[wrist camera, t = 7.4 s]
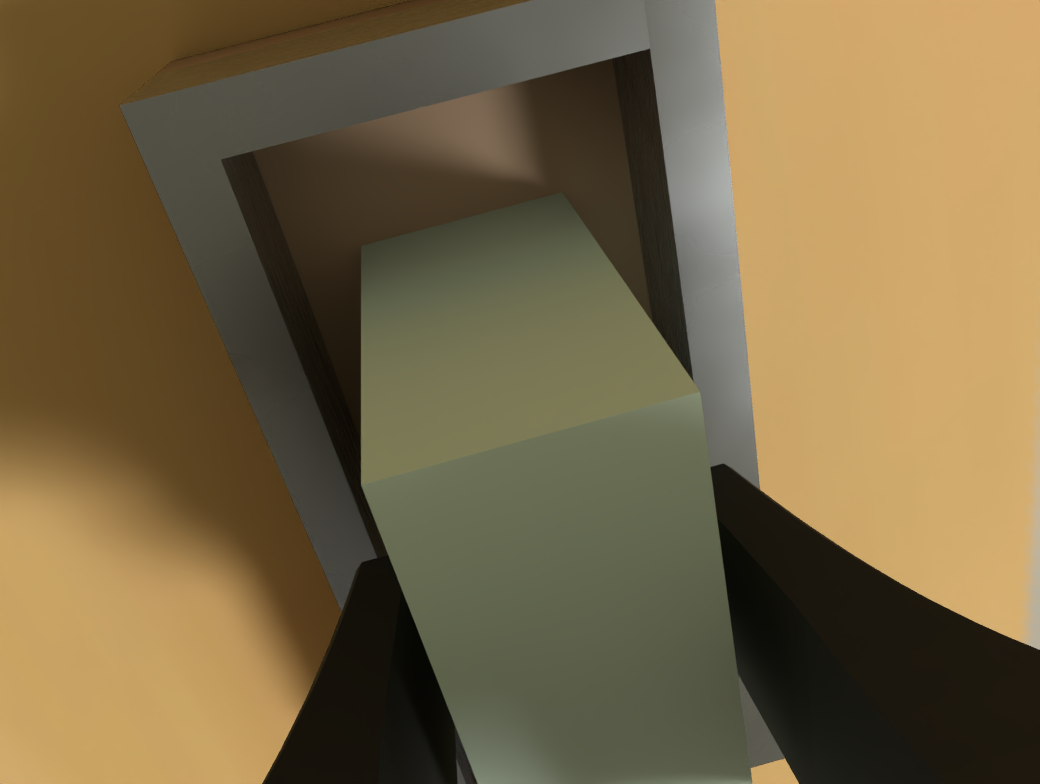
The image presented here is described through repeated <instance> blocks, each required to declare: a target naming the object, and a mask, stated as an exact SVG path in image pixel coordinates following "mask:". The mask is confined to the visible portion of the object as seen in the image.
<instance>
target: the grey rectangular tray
mask: <svg viewBox="0 0 1040 784" xmlns="http://www.w3.org/2000/svg"><path fill="white" fill-rule="evenodd" d="M119 106H120V108H121V111H122V113H123V115H124V118H125V120H126V122H127V124H128V127H129V129H130V131H131V134H132V136H133V138H134V140H135V143H136V145H137V147H138V149H139V152H140V154H141V156H142V159H143V161H144V163H145V165H146V168H147V170H148V172H149V175H150V177H151V179H152V181H153V184H154V186H155V188H156V190H157V193H158V195H159V197H160V200H161V202H162V204H163V206H164V209H165V211H166V213H167V216H168V218H169V220H170V222H171V225H172V227H173V229H174V231H175V234H176V236H177V238H178V241H179V243H180V245H181V247H182V250H183V252H184V254H185V257H186V259H187V261H188V263H189V266H190V268H191V270H192V272H193V275H194V277H195V279H196V282H197V284H198V286H199V288H200V291H201V293H202V295H203V298H204V300H205V302H206V304H207V307H208V309H209V311H210V313H211V316H212V318H213V320H214V323H215V325H216V327H217V329H218V332H219V334H220V336H221V339H222V341H223V343H224V345H225V348H226V350H227V352H228V354H229V357H230V359H231V361H232V364H233V366H234V368H235V370H236V373H237V375H238V377H239V380H240V382H241V384H242V386H243V389H244V391H245V393H246V395H247V398H248V400H249V402H250V405H251V407H252V409H253V411H254V414H255V416H256V418H257V421H258V423H259V425H260V427H261V430H262V432H263V434H264V436H265V439H266V441H267V443H268V446H269V448H270V450H271V452H272V455H273V457H274V459H275V462H276V464H277V466H278V468H279V471H280V473H281V475H282V477H283V480H284V482H285V484H286V487H287V489H288V491H289V493H290V496H291V498H292V500H293V503H294V505H295V507H296V509H297V512H298V514H299V516H300V518H301V521H302V523H303V525H304V528H305V530H306V532H307V534H308V537H309V539H310V541H311V544H312V546H313V548H314V550H315V553H316V555H317V557H318V559H319V562H320V564H321V566H322V569H323V571H324V573H325V575H326V578H327V580H328V582H329V585H330V587H331V589H332V591H333V594H334V596H335V598H336V600H337V603H338V605H339V607H340V610H341V612H342V610H343V608H344V605H345V602H346V599H347V596H348V593H349V591H350V588H351V585H352V582H353V579H354V576H355V573H356V570H357V569H358V567H359V566H360V564H361V562H364V561H368V560H371V559H375V558H379V557H382V556H386V555H388V553H387V550H386V548H385V545H384V543H383V540H382V537H381V535H380V532H379V530H378V527H377V525H376V522H375V519H374V517H373V514H372V512H371V509H370V507H369V504H368V502H367V499H366V496H365V494H364V491H363V489H362V486H361V246H362V245H366V244H370V243H374V242H377V241H381V240H385V239H388V238H392V237H396V236H400V235H403V234H407V233H411V232H415V231H418V230H422V229H426V228H430V227H433V226H437V225H441V224H445V223H448V222H452V221H456V220H459V219H463V218H467V217H471V216H474V215H478V214H482V213H486V212H489V211H493V210H497V209H501V208H504V207H508V206H512V205H516V204H519V203H523V202H527V201H530V200H534V199H538V198H542V197H545V196H549V195H553V194H557V193H560V192H563V194H564V195H565V197H566V198H567V199H568V201H569V202H570V204H571V205H572V207H573V208H574V210H575V211H576V213H577V214H578V215H579V217H580V218H581V220H582V221H583V223H584V224H585V226H586V227H587V228H588V230H589V231H590V233H591V234H592V236H593V237H594V239H595V240H596V241H597V243H598V244H599V246H600V247H601V249H602V250H603V252H604V253H605V254H606V256H607V257H608V259H609V260H610V262H611V263H612V265H613V266H614V268H615V269H616V270H617V272H618V273H619V275H620V276H621V278H622V279H623V281H624V282H625V283H626V285H627V286H628V288H629V289H630V291H631V292H632V294H633V295H634V296H635V298H636V299H637V301H638V302H639V304H640V305H641V307H642V308H643V310H644V311H645V312H646V314H647V315H648V317H649V318H650V320H651V321H652V323H653V324H654V325H655V327H656V328H657V330H658V331H659V333H660V334H661V336H662V337H663V338H664V340H665V341H666V343H667V344H668V346H669V347H670V349H671V350H672V352H673V353H674V354H675V356H676V357H677V359H678V360H679V362H680V363H681V365H682V366H683V367H684V369H685V370H686V372H687V373H688V375H689V376H690V378H691V379H692V380H693V382H694V383H695V385H696V386H697V388H698V389H699V391H700V394H701V401H702V409H703V416H704V424H705V431H706V439H707V446H708V454H709V461H710V467H712V466H716V465H719V464H723V463H724V464H726V465H727V466H729V467H731V468H732V469H734V470H735V471H736V472H738V473H739V474H740V475H741V476H743V477H744V478H745V479H747V480H748V481H749V482H750V483H752V484H753V485H754V486H756V487H757V488H758V489H760V485H759V474H758V463H757V453H756V442H755V431H754V420H753V409H752V398H751V387H750V377H749V366H748V355H747V344H746V333H745V322H744V311H743V301H742V290H741V279H740V268H739V257H738V246H737V235H736V225H735V214H734V203H733V192H732V181H731V170H730V159H729V149H728V138H727V127H726V116H725V105H724V94H723V83H722V73H721V62H720V51H719V40H718V29H717V18H716V7H715V0H411V1H407V2H404V3H400V4H396V5H392V6H388V7H384V8H380V9H376V10H372V11H368V12H364V13H360V14H356V15H352V16H349V17H345V18H341V19H337V20H333V21H329V22H325V23H321V24H317V25H313V26H309V27H305V28H301V29H297V30H293V31H290V32H286V33H282V34H278V35H274V36H270V37H266V38H262V39H258V40H254V41H250V42H246V43H242V44H238V45H234V46H231V47H227V48H223V49H219V50H215V51H211V52H207V53H203V54H199V55H195V56H191V57H187V58H183V59H179V60H175V61H172V62H170V63H169V64H168V65H167V66H166V67H164V68H163V69H162V70H161V71H160V72H158V73H157V74H156V75H155V76H154V77H153V78H151V79H150V80H149V81H148V82H147V83H145V84H144V85H143V86H142V87H141V88H140V89H138V90H137V91H136V92H135V93H134V94H132V95H131V96H130V97H129V98H128V99H127V100H125V101H124V102H123V103H122V104H121V105H119ZM738 679H739V687H740V695H741V702H742V710H743V717H744V725H745V732H746V740H747V747H748V755H749V762H750V768H752V767H756V766H759V765H763V764H766V763H770V762H773V761H777V760H780V759H784V758H785V757H784V755H783V754H782V752H781V750H780V748H779V747H778V745H777V743H776V741H775V739H774V738H773V736H772V734H771V732H770V731H769V729H768V727H767V725H766V723H765V722H764V720H763V718H762V716H761V715H760V713H759V711H758V709H757V707H756V706H755V704H754V702H753V700H752V699H751V697H750V695H749V693H748V691H747V690H746V688H745V686H744V684H743V682H742V681H741V679H740V677H739V675H738ZM455 740H456V761H457V781H458V784H478V783H477V780H476V778H475V775H474V773H473V770H472V768H471V765H470V762H469V760H468V757H467V755H466V752H465V750H464V747H463V745H462V742H461V739H460V737H459V734H458V732H457V729H456V727H455Z"/></svg>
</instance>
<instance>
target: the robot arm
mask: <svg viewBox="0 0 1040 784" xmlns="http://www.w3.org/2000/svg"><path fill="white" fill-rule="evenodd" d="M710 469H711V476H712V484H713V491H714V499H715V506H716V514H717V522H718V529H719V537H720V544H721V552H722V559H723V567H724V574H725V582H726V589H727V597H728V604H729V612H730V619H731V627H732V634H733V642H734V649H735V657H736V664H737V672H738V675H739V677H740V679H741V681H742V682H743V684H744V686H745V688H746V690H747V691H748V693H749V695H750V697H751V699H752V700H753V702H754V704H755V706H756V707H757V709H758V711H759V713H760V715H761V716H762V718H763V720H764V722H765V723H766V725H767V727H768V729H769V731H770V732H771V734H772V736H773V738H774V739H775V741H776V743H777V745H778V747H779V748H780V750H781V752H782V754H783V755H784V757H785V759H786V761H787V763H788V764H789V766H790V768H791V770H792V772H793V773H794V775H795V777H796V779H797V780H798V782H799V784H1040V650H1038V649H1036V648H1034V647H1031V646H1029V645H1026V644H1024V643H1021V642H1019V641H1017V640H1014V639H1012V638H1009V637H1007V636H1005V635H1002V634H1000V633H998V632H996V631H993V630H991V629H989V628H987V627H985V626H982V625H980V624H978V623H976V622H974V621H972V620H970V619H968V618H966V617H964V616H962V615H960V614H958V613H956V612H953V611H951V610H949V609H947V608H945V607H943V606H941V605H939V604H937V603H935V602H933V601H931V600H930V599H928V598H926V597H924V596H922V595H920V594H918V593H917V592H915V591H913V590H911V589H909V588H908V587H906V586H904V585H902V584H901V583H899V582H897V581H895V580H894V579H892V578H890V577H889V576H887V575H885V574H884V573H882V572H880V571H879V570H877V569H875V568H874V567H872V566H870V565H868V564H867V563H865V562H864V561H862V560H861V559H859V558H857V557H856V556H854V555H853V554H851V553H849V552H848V551H846V550H845V549H843V548H842V547H840V546H839V545H837V544H836V543H834V542H833V541H831V540H830V539H828V538H827V537H825V536H824V535H822V534H821V533H819V532H818V531H816V530H815V529H813V528H812V527H810V526H809V525H808V524H806V523H805V522H803V521H802V520H800V519H799V518H798V517H796V516H795V515H793V514H792V513H791V512H789V511H788V510H786V509H785V508H784V507H782V506H781V505H780V504H778V503H777V502H776V501H774V500H773V499H772V498H770V497H769V496H768V495H766V494H765V493H764V492H762V491H761V490H760V489H758V488H757V487H756V486H754V485H753V484H752V483H750V482H749V481H748V480H747V479H745V478H744V477H743V476H741V475H740V474H739V473H738V472H736V471H735V470H734V469H732V468H731V467H729V466H727V465H726V464H724V463H723V464H719V465H716V466H712V467H710ZM262 784H458V781H457V761H456V740H455V724H454V722H453V719H452V716H451V714H450V711H449V709H448V706H447V704H446V701H445V699H444V696H443V693H442V691H441V688H440V686H439V683H438V681H437V678H436V676H435V673H434V670H433V668H432V665H431V663H430V660H429V658H428V655H427V652H426V650H425V647H424V645H423V642H422V640H421V637H420V635H419V632H418V629H417V627H416V624H415V622H414V619H413V617H412V614H411V612H410V609H409V606H408V604H407V601H406V599H405V596H404V594H403V591H402V589H401V586H400V583H399V581H398V578H397V576H396V573H395V571H394V568H393V566H392V563H391V560H390V558H389V555H386V556H382V557H379V558H375V559H371V560H368V561H364V562H361V564H360V566H359V567H358V569H357V570H356V573H355V576H354V579H353V582H352V585H351V588H350V591H349V593H348V596H347V599H346V602H345V605H344V608H343V610H342V613H341V616H340V618H339V621H338V624H337V626H336V629H335V631H334V634H333V637H332V639H331V642H330V644H329V647H328V649H327V651H326V654H325V656H324V658H323V661H322V663H321V665H320V668H319V670H318V672H317V675H316V677H315V679H314V682H313V684H312V686H311V689H310V691H309V693H308V695H307V697H306V700H305V702H304V704H303V706H302V708H301V710H300V712H299V714H298V716H297V718H296V720H295V722H294V724H293V726H292V728H291V730H290V732H289V734H288V736H287V738H286V740H285V742H284V744H283V746H282V748H281V750H280V752H279V754H278V756H277V758H276V760H275V761H274V763H273V765H272V767H271V769H270V771H269V772H268V774H267V776H266V778H265V780H264V781H263V783H262Z"/></svg>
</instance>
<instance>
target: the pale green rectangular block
mask: <svg viewBox="0 0 1040 784" xmlns="http://www.w3.org/2000/svg"><path fill="white" fill-rule="evenodd" d="M361 486H362V489H363V491H364V494H365V496H366V499H367V502H368V504H369V507H370V509H371V512H372V514H373V517H374V519H375V522H376V525H377V527H378V530H379V532H380V535H381V537H382V540H383V543H384V545H385V548H386V550H387V553H388V555H389V558H390V560H391V563H392V566H393V568H394V571H395V573H396V576H397V578H398V581H399V583H400V586H401V589H402V591H403V594H404V596H405V599H406V601H407V604H408V606H409V609H410V612H411V614H412V617H413V619H414V622H415V624H416V627H417V629H418V632H419V635H420V637H421V640H422V642H423V645H424V647H425V650H426V652H427V655H428V658H429V660H430V663H431V665H432V668H433V670H434V673H435V676H436V678H437V681H438V683H439V686H440V688H441V691H442V693H443V696H444V699H445V701H446V704H447V706H448V709H449V711H450V714H451V716H452V719H453V722H454V724H455V727H456V729H457V732H458V734H459V737H460V739H461V742H462V745H463V747H464V750H465V752H466V755H467V757H468V760H469V762H470V765H471V768H472V770H473V773H474V775H475V778H476V780H477V783H478V784H752V777H751V770H750V762H749V755H748V747H747V740H746V732H745V725H744V717H743V710H742V702H741V695H740V687H739V679H738V672H737V664H736V657H735V649H734V642H733V634H732V627H731V619H730V612H729V604H728V597H727V589H726V582H725V574H724V567H723V559H722V552H721V544H720V537H719V529H718V522H717V514H716V506H715V499H714V491H713V484H712V476H711V469H710V461H709V454H708V446H707V439H706V431H705V424H704V416H703V409H702V401H701V394H700V391H699V389H698V388H697V386H696V385H695V383H694V382H693V380H692V379H691V378H690V376H689V375H688V373H687V372H686V370H685V369H684V367H683V366H682V365H681V363H680V362H679V360H678V359H677V357H676V356H675V354H674V353H673V352H672V350H671V349H670V347H669V346H668V344H667V343H666V341H665V340H664V338H663V337H662V336H661V334H660V333H659V331H658V330H657V328H656V327H655V325H654V324H653V323H652V321H651V320H650V318H649V317H648V315H647V314H646V312H645V311H644V310H643V308H642V307H641V305H640V304H639V302H638V301H637V299H636V298H635V296H634V295H633V294H632V292H631V291H630V289H629V288H628V286H627V285H626V283H625V282H624V281H623V279H622V278H621V276H620V275H619V273H618V272H617V270H616V269H615V268H614V266H613V265H612V263H611V262H610V260H609V259H608V257H607V256H606V254H605V253H604V252H603V250H602V249H601V247H600V246H599V244H598V243H597V241H596V240H595V239H594V237H593V236H592V234H591V233H590V231H589V230H588V228H587V227H586V226H585V224H584V223H583V221H582V220H581V218H580V217H579V215H578V214H577V213H576V211H575V210H574V208H573V207H572V205H571V204H570V202H569V201H568V199H567V198H566V197H565V195H564V194H563V192H560V193H557V194H553V195H549V196H545V197H542V198H538V199H534V200H530V201H527V202H523V203H519V204H516V205H512V206H508V207H504V208H501V209H497V210H493V211H489V212H486V213H482V214H478V215H474V216H471V217H467V218H463V219H459V220H456V221H452V222H448V223H445V224H441V225H437V226H433V227H430V228H426V229H422V230H418V231H415V232H411V233H407V234H403V235H400V236H396V237H392V238H388V239H385V240H381V241H377V242H374V243H370V244H366V245H362V246H361Z"/></svg>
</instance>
